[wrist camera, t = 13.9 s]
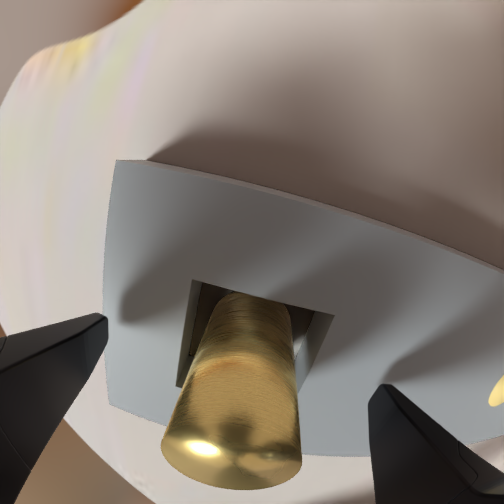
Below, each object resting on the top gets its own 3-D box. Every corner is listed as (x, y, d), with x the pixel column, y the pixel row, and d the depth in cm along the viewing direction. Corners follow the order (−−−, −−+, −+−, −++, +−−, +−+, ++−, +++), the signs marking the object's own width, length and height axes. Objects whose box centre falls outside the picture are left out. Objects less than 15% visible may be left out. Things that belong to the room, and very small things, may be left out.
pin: (277, 363, 11) (276, 495, 5) (205, 346, 11) (160, 471, 5) (301, 300, 10) (325, 438, 4) (219, 279, 10) (163, 405, 4)
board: (528, 410, 12) (537, 423, 10) (126, 377, 12) (108, 405, 10) (584, 312, 9) (597, 323, 7) (144, 160, 9) (114, 160, 7)
